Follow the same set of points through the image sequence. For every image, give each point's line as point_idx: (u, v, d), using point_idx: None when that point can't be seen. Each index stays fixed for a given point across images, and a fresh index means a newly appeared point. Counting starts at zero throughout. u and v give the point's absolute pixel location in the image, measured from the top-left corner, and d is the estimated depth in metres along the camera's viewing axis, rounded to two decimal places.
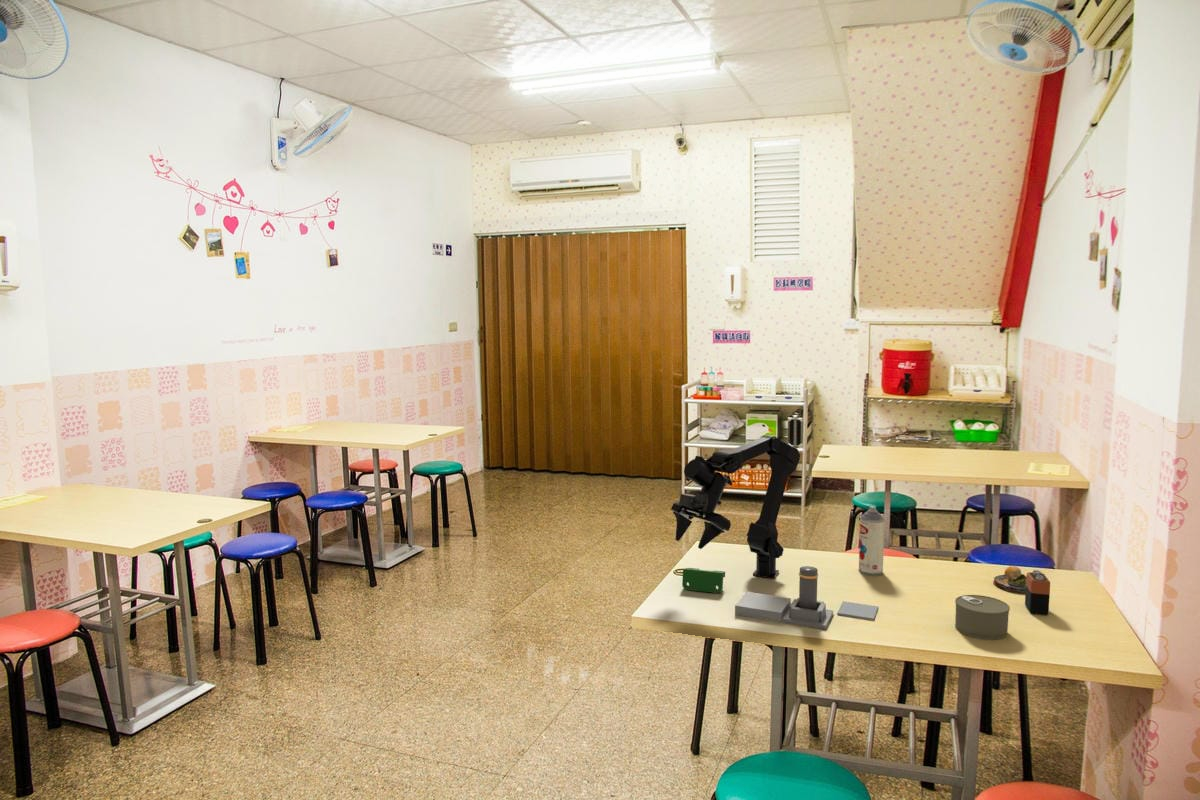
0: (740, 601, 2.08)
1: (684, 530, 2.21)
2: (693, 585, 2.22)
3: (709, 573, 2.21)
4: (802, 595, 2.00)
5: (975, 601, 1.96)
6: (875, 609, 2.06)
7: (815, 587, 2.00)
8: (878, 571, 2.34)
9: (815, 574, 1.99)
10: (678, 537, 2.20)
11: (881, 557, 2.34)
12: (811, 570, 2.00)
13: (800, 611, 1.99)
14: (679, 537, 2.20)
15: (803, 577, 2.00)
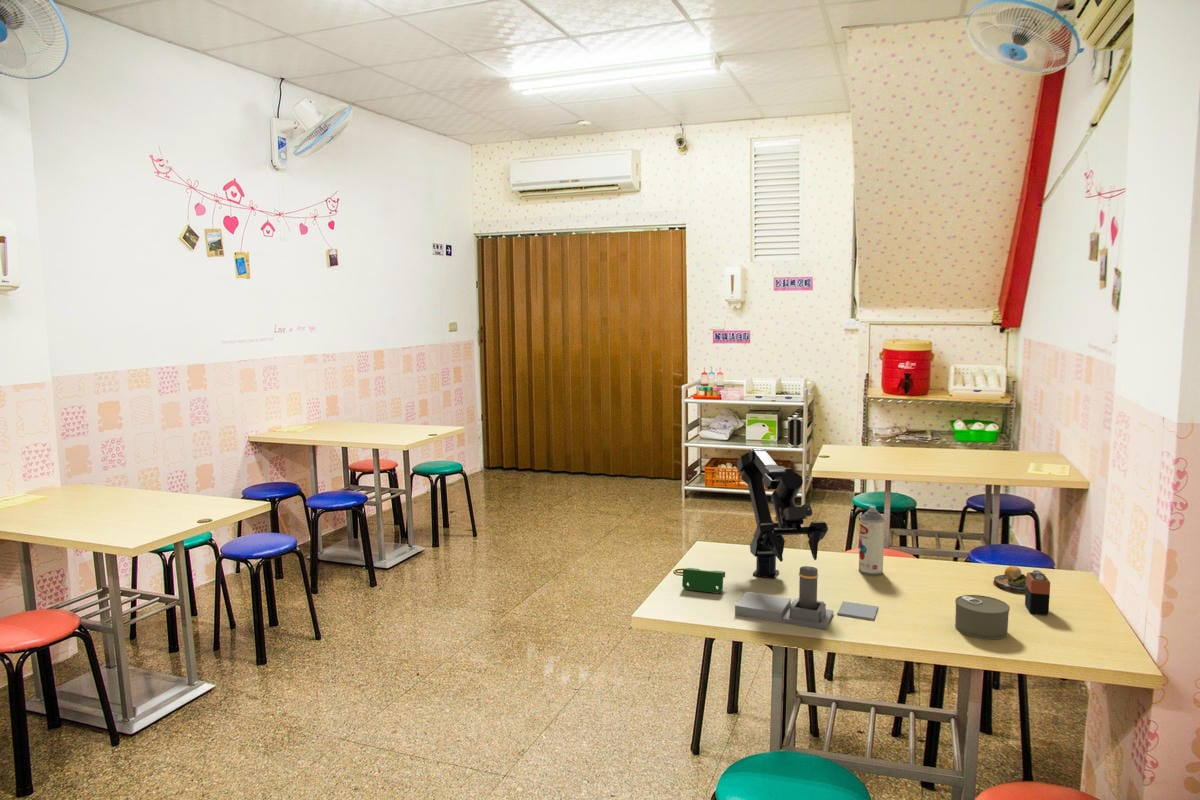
0: (740, 601, 2.08)
1: None
2: (693, 585, 2.22)
3: (709, 573, 2.21)
4: (802, 595, 2.00)
5: (975, 601, 1.96)
6: (875, 609, 2.06)
7: (815, 587, 2.00)
8: (878, 571, 2.34)
9: (815, 574, 1.99)
10: None
11: (881, 557, 2.34)
12: (811, 570, 2.00)
13: (800, 611, 1.99)
14: None
15: (803, 577, 2.00)
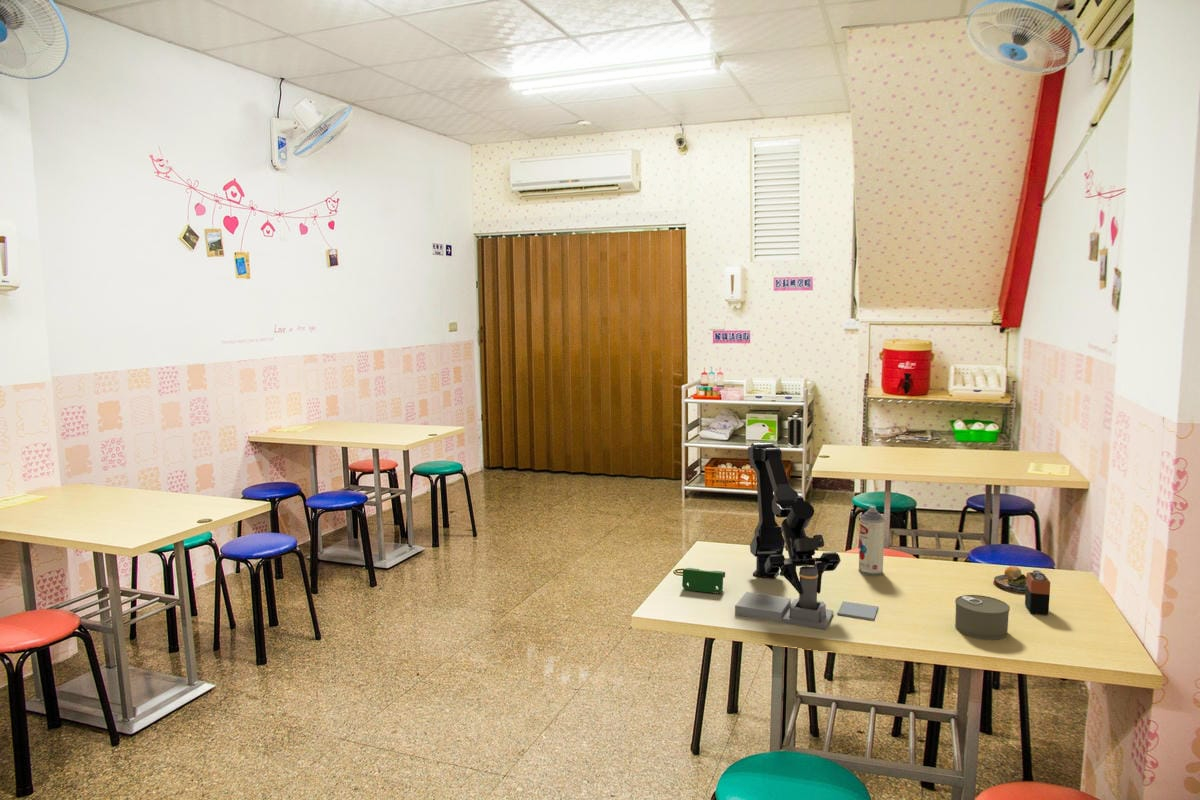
0: (740, 601, 2.08)
1: None
2: (693, 585, 2.22)
3: (709, 573, 2.21)
4: (802, 595, 2.00)
5: (975, 601, 1.96)
6: (875, 609, 2.06)
7: (815, 587, 2.00)
8: (878, 571, 2.34)
9: (815, 574, 1.99)
10: None
11: (881, 557, 2.34)
12: (812, 570, 2.00)
13: (800, 611, 1.99)
14: None
15: (803, 577, 2.00)
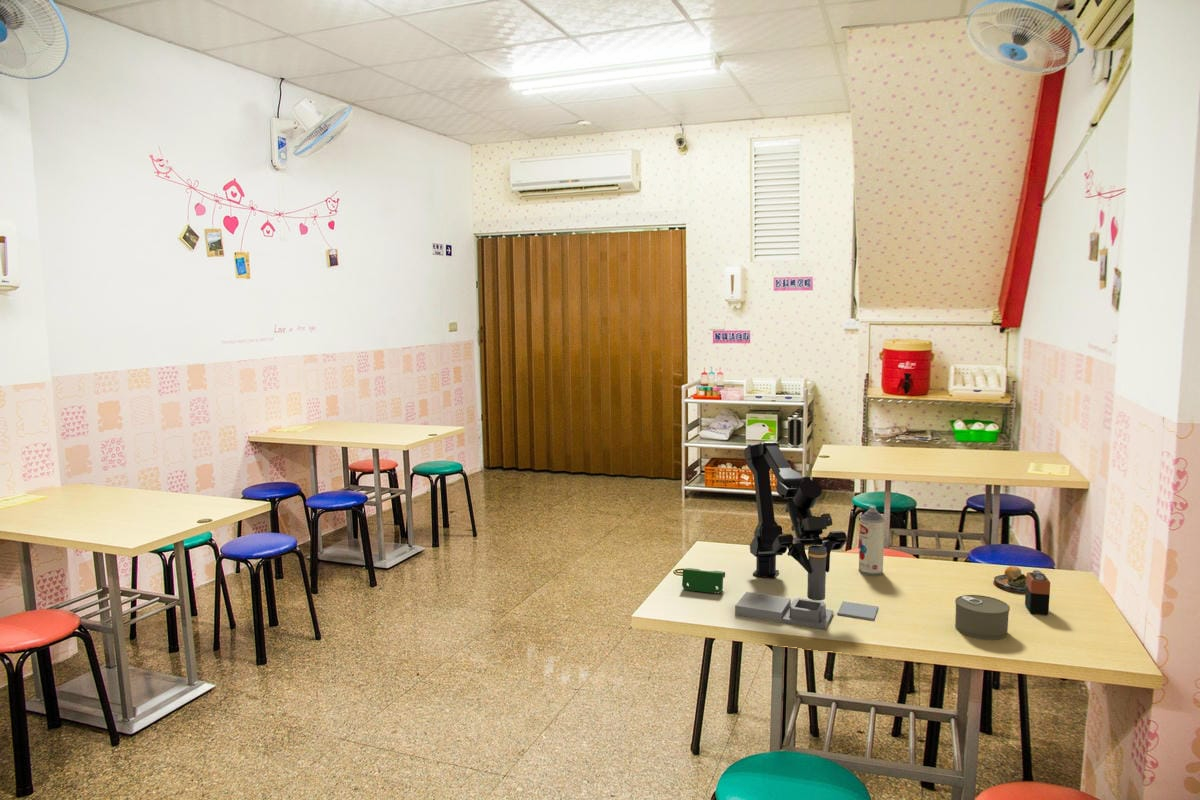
0: (740, 601, 2.08)
1: None
2: (693, 585, 2.22)
3: (709, 573, 2.21)
4: (811, 574, 2.00)
5: (975, 601, 1.96)
6: (875, 609, 2.06)
7: (824, 566, 1.99)
8: (878, 571, 2.34)
9: (824, 553, 1.99)
10: None
11: (881, 557, 2.34)
12: (821, 549, 1.99)
13: (800, 611, 1.99)
14: None
15: (812, 556, 1.99)
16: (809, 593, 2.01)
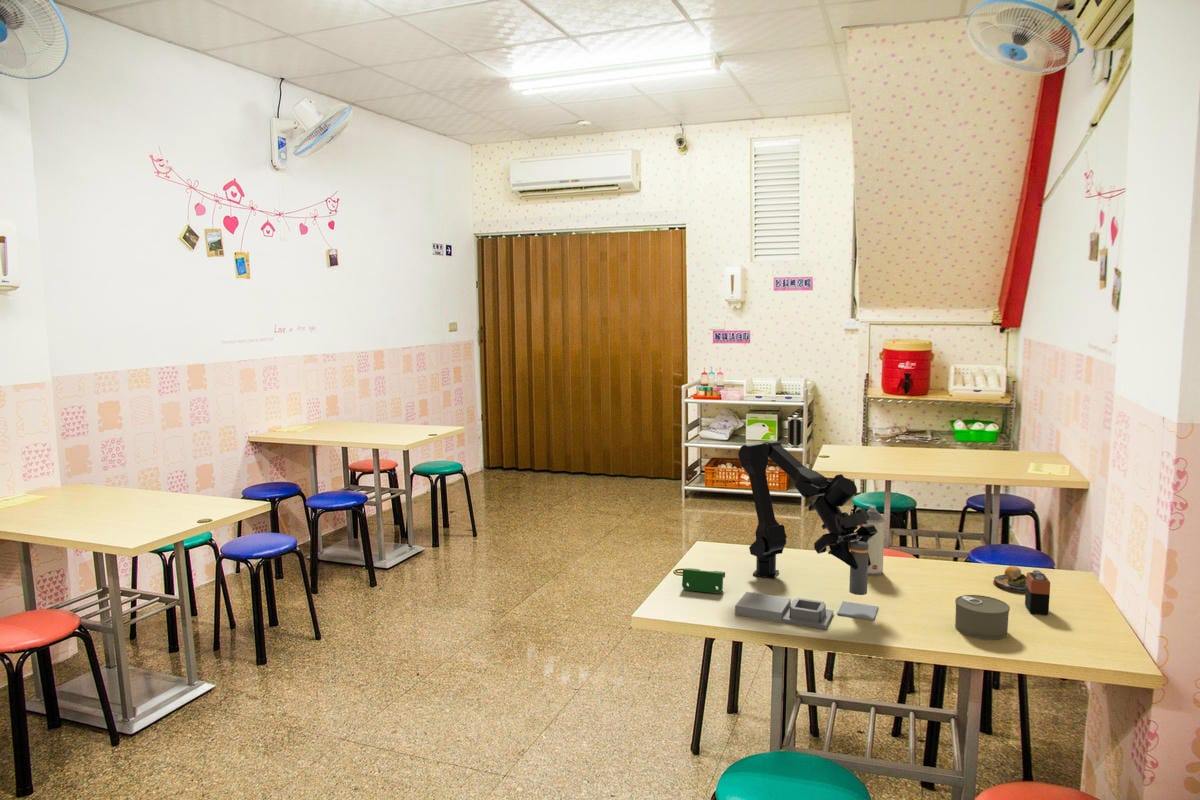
0: (740, 601, 2.08)
1: None
2: (693, 585, 2.22)
3: (709, 573, 2.21)
4: (857, 570, 2.03)
5: (975, 601, 1.96)
6: (875, 609, 2.06)
7: None
8: (878, 571, 2.34)
9: (868, 547, 2.03)
10: None
11: (881, 557, 2.34)
12: (864, 544, 2.03)
13: (800, 611, 1.99)
14: None
15: (858, 552, 2.03)
16: (854, 589, 2.04)
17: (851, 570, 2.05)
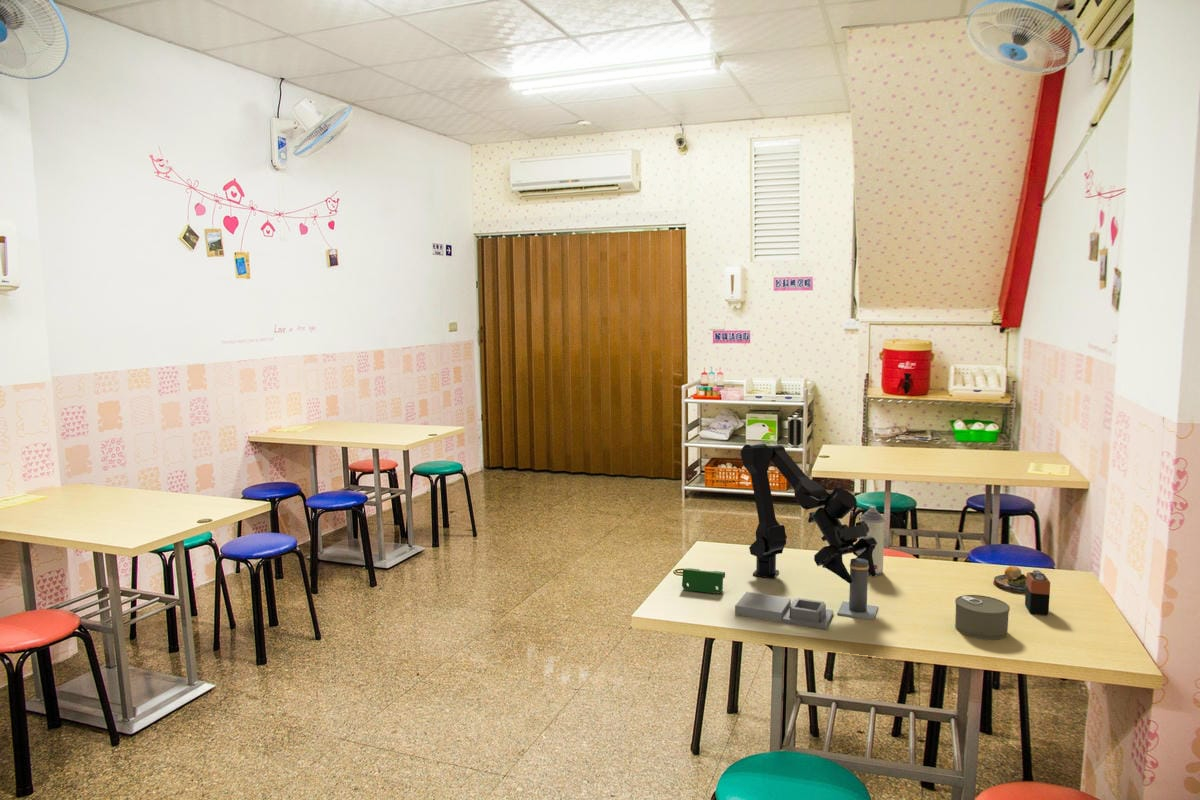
0: (740, 601, 2.08)
1: None
2: (693, 585, 2.22)
3: (709, 574, 2.21)
4: (856, 587, 2.04)
5: (975, 601, 1.96)
6: (875, 609, 2.06)
7: (867, 577, 2.05)
8: (878, 571, 2.34)
9: (867, 565, 2.04)
10: None
11: (881, 557, 2.34)
12: (864, 561, 2.04)
13: (800, 611, 1.99)
14: None
15: (858, 569, 2.03)
16: (854, 606, 2.05)
17: (851, 587, 2.05)
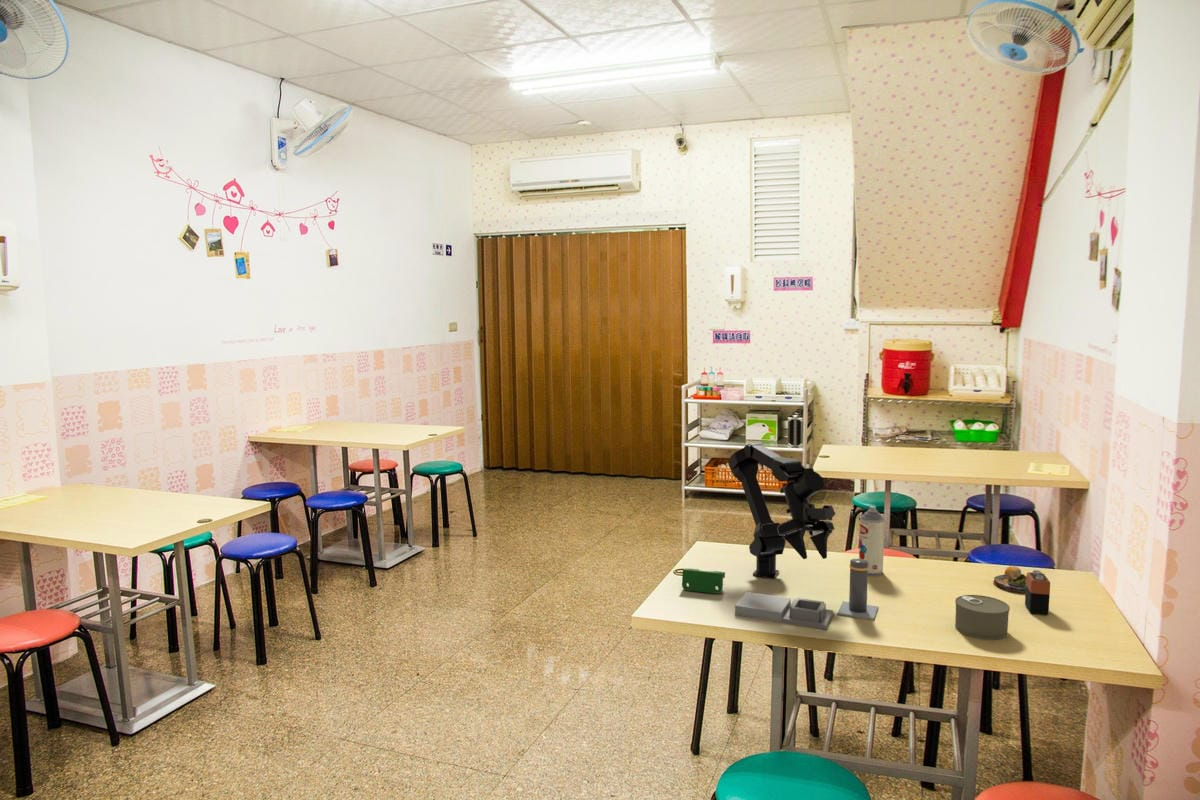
0: (740, 601, 2.08)
1: None
2: (693, 585, 2.22)
3: (709, 574, 2.21)
4: (856, 587, 2.04)
5: (975, 601, 1.96)
6: (875, 609, 2.06)
7: (867, 578, 2.05)
8: (878, 571, 2.34)
9: (867, 565, 2.04)
10: None
11: (881, 557, 2.34)
12: (864, 562, 2.04)
13: (800, 611, 1.99)
14: None
15: (858, 570, 2.03)
16: (854, 606, 2.05)
17: (851, 588, 2.05)
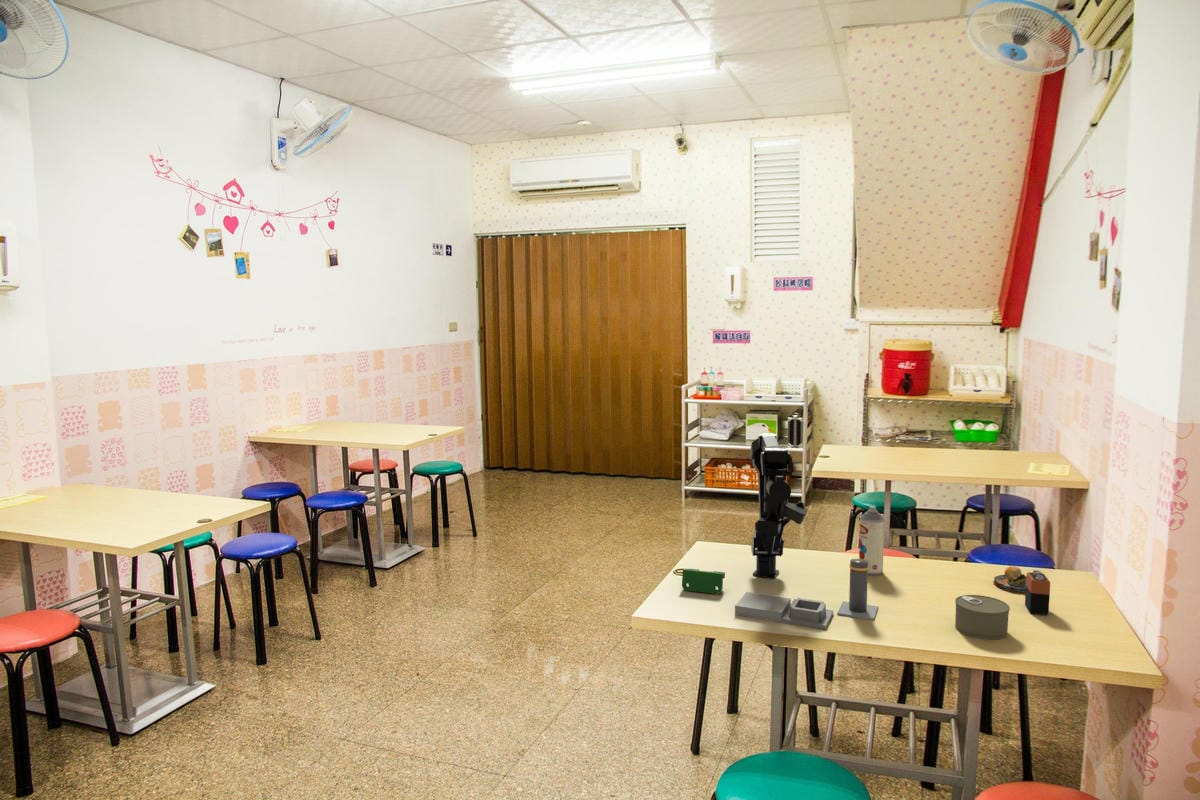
0: (740, 601, 2.08)
1: None
2: (693, 586, 2.22)
3: (709, 574, 2.21)
4: (856, 587, 2.04)
5: (975, 601, 1.96)
6: (875, 609, 2.06)
7: (867, 578, 2.05)
8: (878, 571, 2.34)
9: (867, 565, 2.04)
10: None
11: (881, 557, 2.34)
12: (864, 562, 2.04)
13: (800, 611, 1.99)
14: None
15: (858, 570, 2.03)
16: (854, 606, 2.05)
17: (851, 588, 2.05)
